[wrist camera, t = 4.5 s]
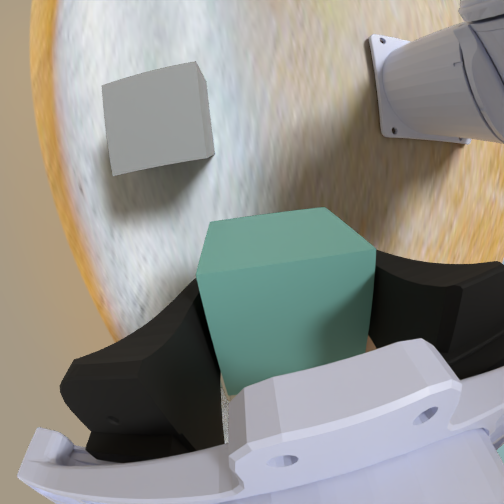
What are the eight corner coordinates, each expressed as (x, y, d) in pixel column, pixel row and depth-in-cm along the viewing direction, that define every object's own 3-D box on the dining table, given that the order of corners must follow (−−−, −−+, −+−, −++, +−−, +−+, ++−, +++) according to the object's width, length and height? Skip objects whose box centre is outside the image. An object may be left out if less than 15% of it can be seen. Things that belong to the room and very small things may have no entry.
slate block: (206, 81, 16) (195, 61, 11) (215, 154, 17) (207, 158, 13) (133, 97, 16) (101, 85, 11) (142, 166, 17) (112, 176, 13)
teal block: (324, 206, 12) (376, 248, 7) (326, 303, 14) (361, 372, 9) (210, 221, 12) (195, 274, 7) (228, 318, 14) (228, 395, 9)
